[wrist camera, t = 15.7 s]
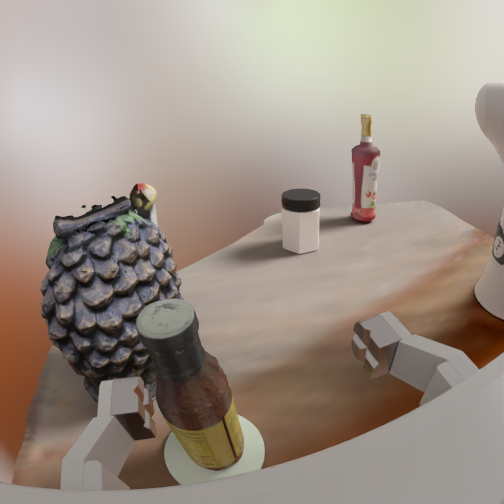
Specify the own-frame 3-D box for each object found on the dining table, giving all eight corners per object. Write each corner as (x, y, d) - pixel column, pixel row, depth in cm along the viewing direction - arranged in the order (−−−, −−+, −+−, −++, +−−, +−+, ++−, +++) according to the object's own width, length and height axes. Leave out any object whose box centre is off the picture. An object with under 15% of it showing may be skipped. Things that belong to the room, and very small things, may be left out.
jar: (285, 235, 76) (284, 187, 71) (320, 237, 74) (320, 188, 69) (280, 253, 69) (278, 200, 63) (318, 255, 67) (319, 201, 61)
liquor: (366, 227, 78) (370, 116, 64) (344, 219, 83) (345, 113, 70) (380, 219, 81) (386, 116, 68) (359, 212, 87) (362, 113, 73)
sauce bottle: (217, 417, 33) (180, 273, 24) (257, 447, 29) (239, 305, 20) (175, 451, 29) (106, 314, 20) (214, 486, 25) (155, 363, 16)
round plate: (272, 421, 33) (271, 416, 33) (254, 504, 24) (254, 502, 23) (183, 408, 35) (181, 403, 35) (153, 482, 26) (150, 479, 25)
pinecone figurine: (138, 314, 53) (100, 175, 41) (216, 331, 48) (190, 169, 36) (66, 399, 35) (-18, 240, 24) (151, 440, 31) (58, 253, 19)
